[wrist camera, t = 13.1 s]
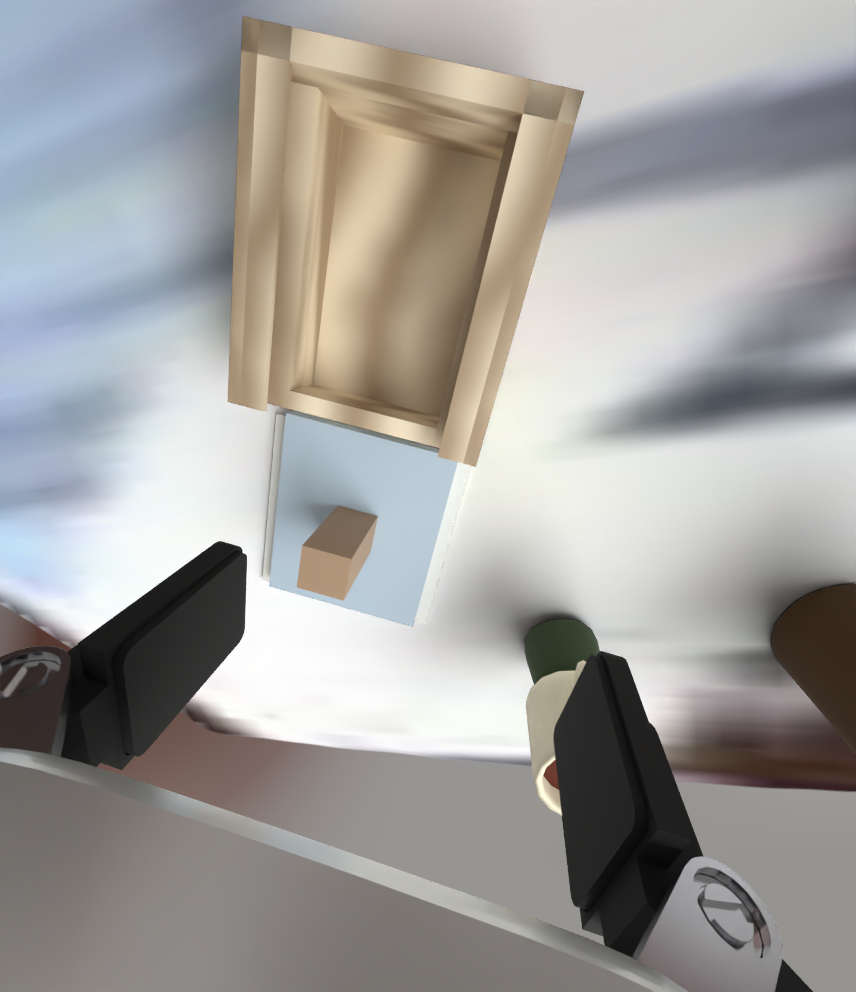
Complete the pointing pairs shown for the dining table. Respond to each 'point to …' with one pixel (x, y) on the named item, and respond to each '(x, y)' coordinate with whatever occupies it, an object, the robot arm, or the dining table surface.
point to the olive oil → (823, 653)
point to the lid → (357, 516)
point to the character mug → (552, 693)
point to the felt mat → (442, 538)
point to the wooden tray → (385, 231)
